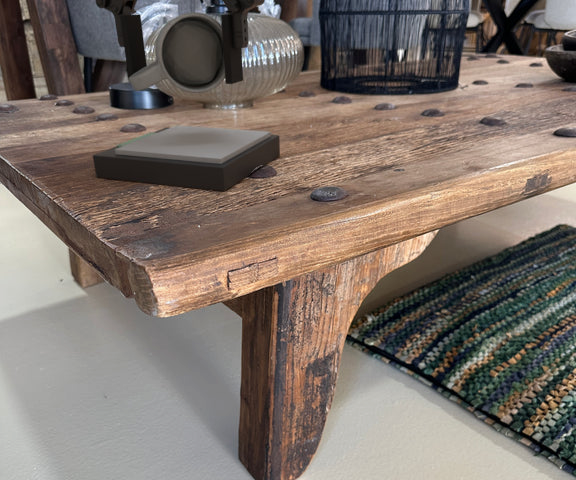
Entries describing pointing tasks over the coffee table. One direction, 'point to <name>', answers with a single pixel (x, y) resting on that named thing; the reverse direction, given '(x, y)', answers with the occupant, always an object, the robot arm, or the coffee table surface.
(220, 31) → the ceramic mug
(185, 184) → the scale
